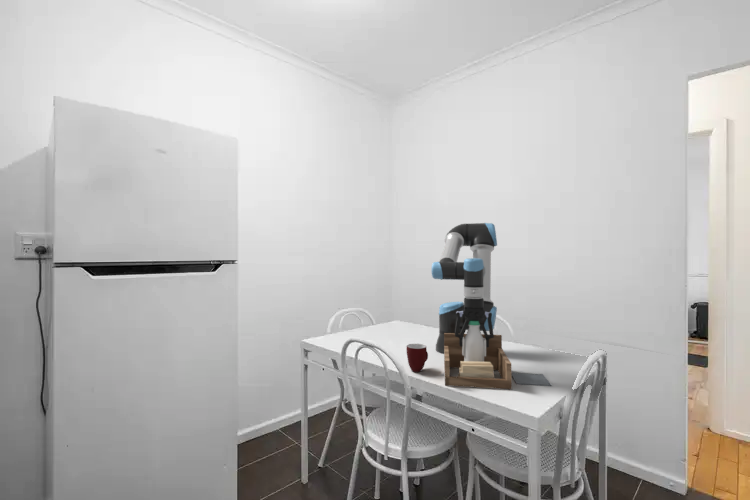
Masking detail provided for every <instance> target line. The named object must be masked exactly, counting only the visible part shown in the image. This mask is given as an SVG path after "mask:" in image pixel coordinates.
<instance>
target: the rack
mask: <svg viewBox="0 0 750 500" xmlns="http://www.w3.org/2000/svg"><path fill="white" fill-rule="evenodd" d="M458 334H459V333H458ZM466 334H467V333H464V336H463V337H464V339H465V336H466ZM481 334H482V336H483V338H485V335H484V333H481ZM487 334H488V333H487ZM489 334H490V333H489ZM489 334H488V335H489ZM443 354H444V355H443V356H444V359H443V361H444V363H443V364H444V366H443V367H444V386H447V387H448V386H449V387H464V388H466V387H467V388H479V389H480V388H484V389H500V390H512V389H513V387H512V375H511V372H512V362H511V361H510V359H509V357H508V356H507V354H506V353H505V351H504V349H503V335H502V334H494V338H490V339H489V347H486V356H484V362H490V363H491V364H492V365H493V371H498V373H499V375H500V378H497V377H496V378H495V377H494V378H478V377H459V376H458V375H450V368H451V369H459V368H460V361H464V356H463V355H462V347H461V346H460V345H459V338H458V337H455V333H444V353H443Z"/></svg>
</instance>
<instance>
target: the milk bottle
mask: <svg viewBox="0 0 750 500" xmlns="http://www.w3.org/2000/svg"><path fill="white" fill-rule="evenodd" d="M468 326H469V329H468V330H467V332H466V333H465V334H466V336H465V356H464V361H472V362H484V339H483V336H482V334H483V333H482V331H480V328H479V327H480V323H479V321H470V322H469V324H468Z"/></svg>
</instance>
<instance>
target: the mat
mask: <svg viewBox="0 0 750 500" xmlns="http://www.w3.org/2000/svg"><path fill="white" fill-rule="evenodd" d="M511 378H512V380H514V382H515V384H516V385H527V386H544V387H545V386H548V387H552V383H551V382H550V381H549V380H548V378H547V377H546V376H545V375H544V374H543V373H536V372H535V373H534V372H533V373H531V372H512V371H511Z"/></svg>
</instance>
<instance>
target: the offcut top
mask: <svg viewBox="0 0 750 500" xmlns="http://www.w3.org/2000/svg"><path fill="white" fill-rule="evenodd" d="M460 368H461V370H462V373H494V370H493V365H492V364H491V363H490V362H472V361H460Z"/></svg>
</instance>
